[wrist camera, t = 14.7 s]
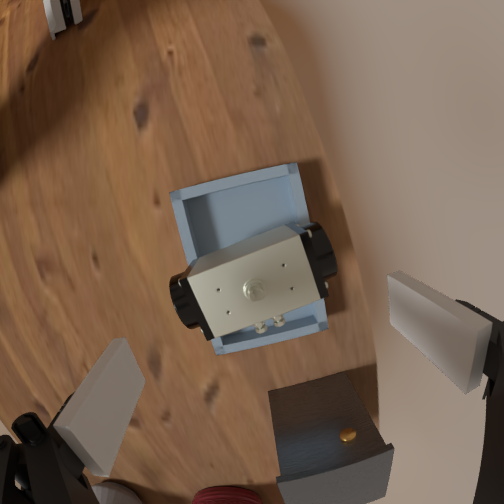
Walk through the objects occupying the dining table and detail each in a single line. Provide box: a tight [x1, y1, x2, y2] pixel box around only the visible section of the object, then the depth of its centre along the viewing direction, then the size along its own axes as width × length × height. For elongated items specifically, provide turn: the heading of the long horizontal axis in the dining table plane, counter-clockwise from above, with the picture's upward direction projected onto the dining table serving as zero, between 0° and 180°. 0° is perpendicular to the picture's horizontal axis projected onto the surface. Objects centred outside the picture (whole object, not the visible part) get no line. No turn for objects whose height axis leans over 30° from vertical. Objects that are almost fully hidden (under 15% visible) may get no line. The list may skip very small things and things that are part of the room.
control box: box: [268, 371, 394, 504], centre depth 28 cm, size 11×11×15 cm
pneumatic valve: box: [169, 222, 338, 341], centre depth 24 cm, size 6×12×12 cm, turn 111°
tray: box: [170, 162, 328, 355], centre depth 29 cm, size 17×12×3 cm
